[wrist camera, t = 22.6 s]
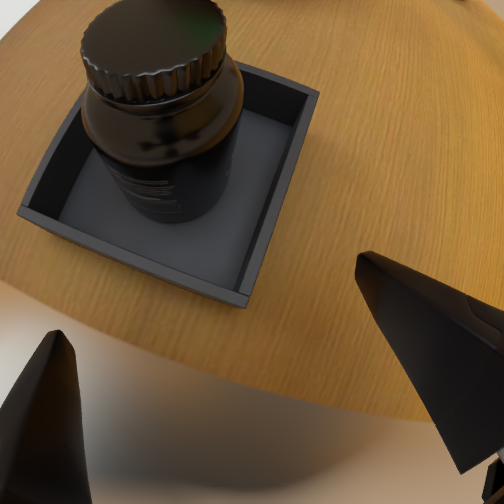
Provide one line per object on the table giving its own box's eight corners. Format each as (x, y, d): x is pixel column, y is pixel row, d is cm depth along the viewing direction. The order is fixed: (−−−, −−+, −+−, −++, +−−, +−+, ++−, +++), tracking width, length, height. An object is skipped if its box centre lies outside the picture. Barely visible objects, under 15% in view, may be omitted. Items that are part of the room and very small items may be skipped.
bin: (236, 308, 19) (246, 309, 15) (49, 232, 18) (15, 214, 14) (300, 127, 22) (320, 91, 17) (135, 74, 21) (125, 34, 16)
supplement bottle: (252, 178, 20) (307, 40, 8) (165, 248, 19) (111, 159, 7) (185, 108, 20) (181, -40, 9) (102, 168, 19) (24, 41, 7)
